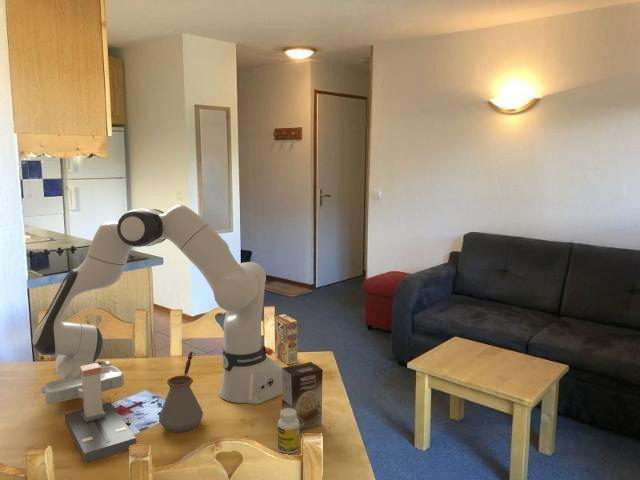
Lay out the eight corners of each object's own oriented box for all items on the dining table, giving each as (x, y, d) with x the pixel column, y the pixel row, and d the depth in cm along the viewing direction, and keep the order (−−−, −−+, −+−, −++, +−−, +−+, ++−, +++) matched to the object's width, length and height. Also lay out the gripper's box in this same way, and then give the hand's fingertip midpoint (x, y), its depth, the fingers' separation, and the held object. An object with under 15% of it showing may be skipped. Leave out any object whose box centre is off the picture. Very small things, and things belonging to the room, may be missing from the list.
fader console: (111, 410, 154) (110, 401, 154) (136, 447, 136) (135, 437, 135) (65, 422, 148) (64, 413, 147) (85, 463, 129) (84, 452, 129)
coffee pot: (198, 436, 141) (196, 382, 138) (153, 436, 141) (151, 382, 138) (213, 398, 162) (211, 350, 159) (174, 398, 162) (172, 350, 159)
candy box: (298, 363, 189) (298, 320, 186) (287, 365, 186) (287, 322, 184) (285, 354, 196) (285, 313, 193) (274, 357, 194) (274, 315, 191)
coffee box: (292, 434, 143) (292, 376, 140) (281, 423, 148) (281, 367, 145) (322, 425, 147) (323, 369, 144) (310, 415, 153) (311, 360, 150)
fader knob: (101, 410, 148) (98, 362, 146) (105, 416, 145) (102, 367, 143) (81, 416, 145) (78, 366, 143) (85, 422, 142) (81, 371, 140)
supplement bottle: (273, 451, 135) (273, 414, 133) (283, 440, 140) (283, 404, 138) (294, 456, 133) (294, 418, 131) (302, 445, 138) (302, 408, 136)
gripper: (38, 376, 150) (47, 395, 139) (115, 359, 162) (129, 375, 151) (40, 397, 151) (49, 418, 140) (116, 379, 163) (130, 397, 152)
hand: (91, 396), depth 146 cm, fingers closed, pressing on fader knob
